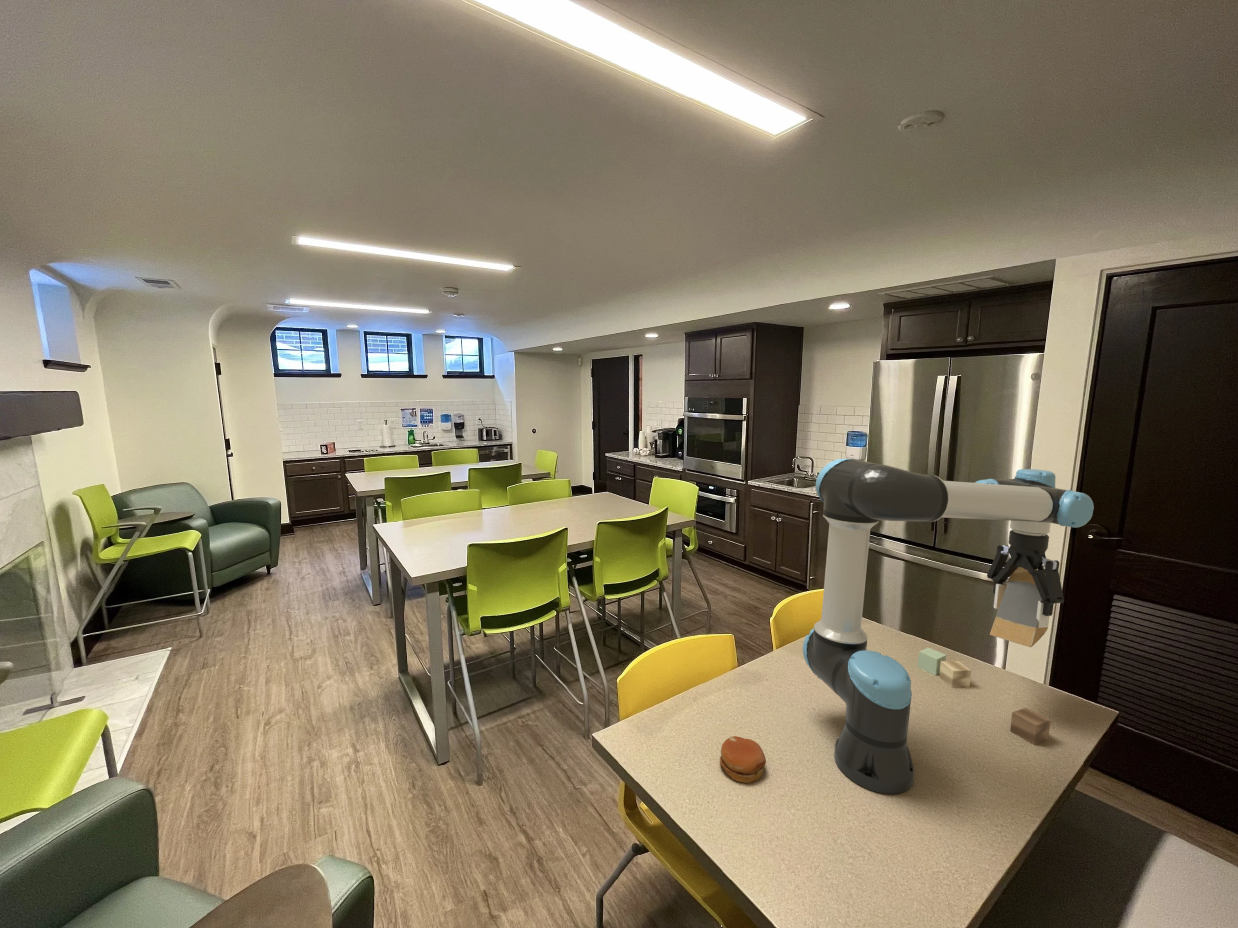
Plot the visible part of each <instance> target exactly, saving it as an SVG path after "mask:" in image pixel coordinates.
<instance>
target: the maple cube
mask: <svg viewBox="0 0 1238 928" xmlns="http://www.w3.org/2000/svg"><path fill="white" fill-rule="evenodd" d="M938 675H939V679H940V680H942V681H943V682H944V683H945V684H946V685H948V686H949V687H950V688H953V689H954V687H955V689H957V688H970V686H971V678H972V677H971V676H972V670H971V669H970V668H969V667H967V666H966V665H965V664H963V663H962V662H960V661H959V660H946V661H941V664H940V674H938ZM956 687H957V688H956Z"/></svg>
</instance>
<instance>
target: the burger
mask: <svg viewBox="0 0 1238 928" xmlns="http://www.w3.org/2000/svg"><path fill="white" fill-rule="evenodd" d="M719 764H720V766H721V767H722V768H723V770H724V771H725V773H726V774H727V776H729V777H730V778H731V779H732V780H734V781H736V782H740V783H746V784H749V783H754V782H757V781H759V780H760V779H761V778H762V777H763V773H764V767H766V764H767V760H766V756H765V754H764V751H763V749H762V747H761V745H760V744H758V743H757V742H756V741H755V740H754V739H751V738H744V737H741V736H736V735H735V736H734V735H733V736H731V737H728V738H726V739H725V740H724V741H723V743H722V745H721V749H720V757H719Z"/></svg>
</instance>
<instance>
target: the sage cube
mask: <svg viewBox="0 0 1238 928" xmlns="http://www.w3.org/2000/svg"><path fill="white" fill-rule="evenodd" d="M917 658H918V659H917V668H918V669H921V670H923V671H925V672H926V673H929V674H931V675H934V676H938V675H940V664H941V661H947V654H945V653H942V652H941V651H938V650H935V649H933V648H930V647H926V648H924V649H922V650H919V651H918V657H917Z"/></svg>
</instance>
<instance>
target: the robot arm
mask: <svg viewBox="0 0 1238 928" xmlns="http://www.w3.org/2000/svg"><path fill="white" fill-rule="evenodd" d="M1056 478H1057V477H1056V474H1055V473H1054V472H1053V471H1051V470H1044V469H1034V468H1033V469H1032V468H1021V469H1018V470H1016V472H1015V476H1014V478H988V479H979V480H977V481H975V482H965V481H952V480H943V479H941V478H940V477H939V476H937V475H933V474H923V473H918V472H915V471H909V470H906V469H902V468H897V467H894V466H890V465H888V464H887V465H886V464H881V463H874V462H871V461H865V460H860V459H854V458H838V459H837V458H836V459H834V460H832V461H830V462H828V463H827V464H826V465H824V467H823V468H821V470H820V472H819V473H818V474H817V477H816V481H815V492H816V495H817V496H818V497H819V499H820V501H822V502H823V508H822V509H823V511H822V513H823V514H822V517H823V518H824V519H825V520H826V521H827V523H828V525H829V526H828V537H827V549H826V562H825V571H824V572H825V573H824V585H823V595H822V596H823V597H822V606H821V618H820V620H818V621H816V622H815V623H814V625H813V628H812V629H811V630H810V631H809V634H806V635H805V637H804V640H803V642H802V643H803V644H802V655H803V659H804V661H805V663H806V665H807V666H808V668H809V669H810V670H811V671H812V673H813V674H814V675H815V676H816V677H817V678H818V679H819V680H821V682H823V683H824V684H825V685H827V687H828V688H830V690H832V691H833V692H834V693H835V694H836V695H837V696H838V697H839V698H840V699H841V700H842V701H843V702H844V703H845V722H844V725H843V728H842V730H841V733H840V735H839V737H838V738H837V739H836V741H835V745H834V750H833V751H834V753H833V757H834V762H835V764H836V766H837V767H838V769H839V770H840V771H841V772H842V774H843V775H844V776H846V777H847V778H848V779H850V780H851V781H852V782H853V783H855V784H856V785H859V786H861V787H863V788H865V789H867V790H870V791H873V792H876V793H879V794H884V795H885V794H886V795H899V794H902V793H906V792H907V791H910V789H911V788H912V786H913V785H914V782H915V781H914V780H915V767H914V763H913V759H912V756H911V753H910V752H911V751H910V749H909V745H908V733H909V723H910V721H909V720H910V713H911V704H912V702H911V701H912V695H913V694H912V692H913V691H912V680H911V676H910V674H909V672H908V671H907V669H906V668H905V667H904V666H903V665H902V664H901V663H900V662H899V661H898V660H896V659H894V658H893V657H891V656H889V655H886V654H885V655H883V654H882V653H881V652H878V651H874V650H868V649H867V648H868V640H869V639H868V634H867V632H866V631H865V630H864V629H863V628H862V622H863V610H864V603H865V602H864V601H865V592H866V591H865V589H866V587H865V586H866V578H867V568H868V566H867V565H868V557H869V548H870V546H869V545H870V537H871V536H870V535H871V529H872V528H873V527H874V526H876V525H877V524H878V523H879V521H885V522H886V521H887V522H889V521H890V522H923V523H925V522H927V523H929V522H930V523H933V522H936V521H938V520H940V519H941V518H948V519H949V518H951V519H969V520H990V521H991V520H992V521H993V520H994V521H1010V523H1009V528H1010V529H1011V530H1009V534H1008V545H1007V544H1005V545H1002V544H1001V545H1000V544H999V545H997V547H996V554H995V557H994V559H993V561H992V563H991V565H990V568H989V570H988V572H987V574H986V577H987V579H991V580H992V583H993V591H992V593H993V595H994V601H993V608H994V609H995V610H998V609H999V606H1000V604H1001V601H1002V598H1003V595H1004V592H1005V589H1006V586H1007V581H1008V580H1009V577H1010V576H1011V574H1012V573H1013V572H1014V571H1015V570H1016V569H1017V568H1018V567H1022V568H1024V569H1025V570H1028V572H1029V574H1031V575H1032V577H1033V579H1034V582H1035V584H1036V587H1037V589H1038V591H1039V594H1040V596H1041V599H1042V601H1038V608H1037V616H1036V618H1037V619H1038V621H1039V628H1044V627H1048V628H1049V623H1048V622H1050V617H1052V615H1053V614H1054V613H1053V611H1054V607H1055V606H1054V604H1064V602H1065V598H1064V597H1065V596H1064V594H1063V587H1062V583H1061V582H1062V581H1061V577H1060V572H1059V571H1060V570H1059V569H1060V561H1059V560H1057V559H1056V560H1054V559H1053V560H1052V559H1049V558H1047V555H1046V552H1047V550H1048V549H1049V543H1050V542H1049V540H1050V536H1049V535H1048V534H1049V533H1050V532H1051V531H1050V530H1051V524H1055V525H1059V526H1060V527H1069V528H1075V529H1076V528H1080V527H1083V526H1085V525H1086V524H1087V523H1089V521H1090V520H1091V519H1092V517H1093V516H1094V515H1093V513H1094V509H1095V507H1094V502H1093V500H1092V498H1091V497H1090V495H1088V494H1086V493H1084V492H1079V491H1075V490H1072V489H1063V488H1057V487H1056ZM1009 556H1010V557H1009ZM1036 569H1038V570H1036ZM1045 575H1046V576H1045ZM1047 596H1048V597H1047Z"/></svg>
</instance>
